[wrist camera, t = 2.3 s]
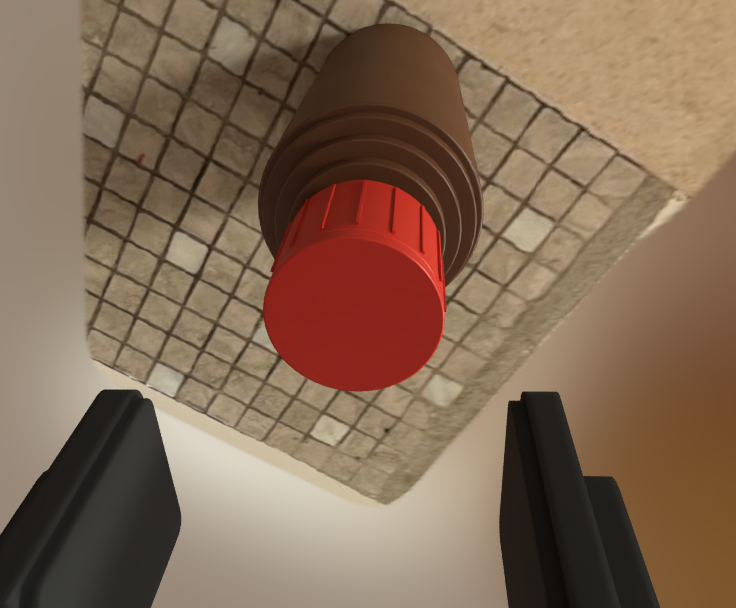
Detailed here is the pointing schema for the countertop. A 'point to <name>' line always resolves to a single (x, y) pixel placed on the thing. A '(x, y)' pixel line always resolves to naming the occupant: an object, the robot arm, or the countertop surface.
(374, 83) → the sauce bottle
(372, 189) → the cap
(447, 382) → the countertop surface
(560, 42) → the countertop surface
